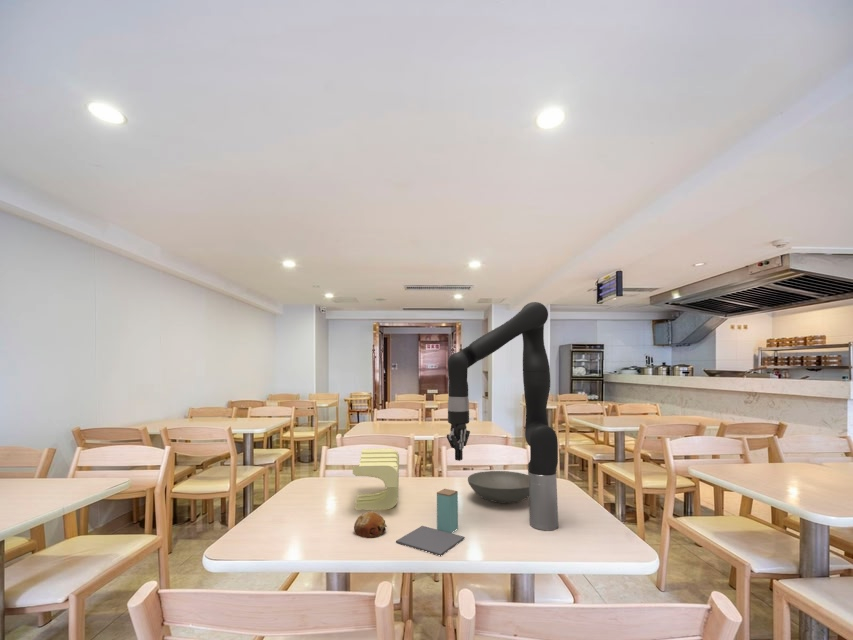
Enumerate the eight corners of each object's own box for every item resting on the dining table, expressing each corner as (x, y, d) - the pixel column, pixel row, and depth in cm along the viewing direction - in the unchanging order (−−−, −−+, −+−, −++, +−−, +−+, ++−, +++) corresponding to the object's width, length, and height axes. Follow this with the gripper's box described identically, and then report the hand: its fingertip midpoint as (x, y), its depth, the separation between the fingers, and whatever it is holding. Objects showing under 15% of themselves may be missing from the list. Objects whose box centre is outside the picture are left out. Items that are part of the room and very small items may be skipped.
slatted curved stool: (397, 517, 145) (397, 465, 147) (352, 518, 144) (352, 466, 146) (399, 491, 174) (399, 448, 176) (361, 492, 174) (362, 449, 176)
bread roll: (375, 536, 138) (368, 511, 141) (395, 529, 132) (387, 504, 135) (352, 546, 130) (345, 520, 133) (372, 539, 125) (365, 512, 128)
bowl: (547, 512, 149) (547, 488, 150) (471, 512, 150) (470, 488, 151) (530, 489, 176) (529, 469, 177) (465, 489, 177) (465, 469, 178)
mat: (422, 527, 135) (422, 525, 135) (464, 538, 126) (464, 536, 127) (396, 542, 124) (396, 540, 124) (440, 556, 115) (440, 554, 115)
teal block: (445, 525, 137) (444, 488, 138) (458, 529, 134) (457, 491, 135) (437, 530, 133) (436, 492, 134) (450, 534, 130) (449, 495, 131)
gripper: (458, 411, 137) (458, 465, 135) (476, 408, 147) (477, 457, 146) (439, 410, 141) (439, 462, 139) (458, 407, 152) (458, 455, 150)
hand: (458, 460), depth 142 cm, fingers closed
